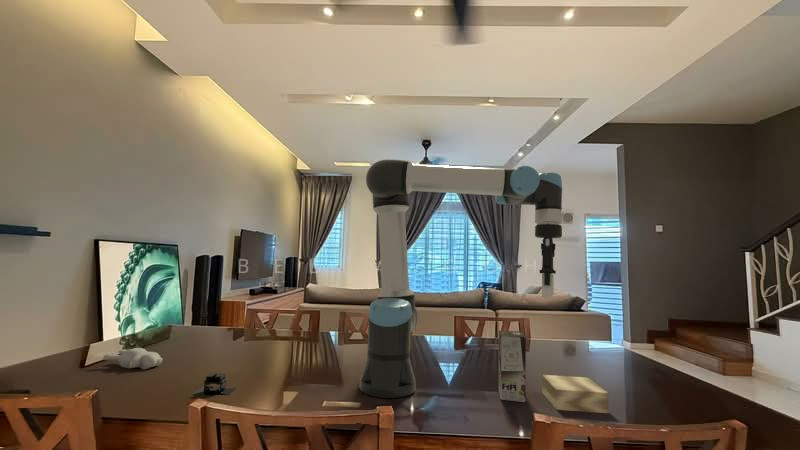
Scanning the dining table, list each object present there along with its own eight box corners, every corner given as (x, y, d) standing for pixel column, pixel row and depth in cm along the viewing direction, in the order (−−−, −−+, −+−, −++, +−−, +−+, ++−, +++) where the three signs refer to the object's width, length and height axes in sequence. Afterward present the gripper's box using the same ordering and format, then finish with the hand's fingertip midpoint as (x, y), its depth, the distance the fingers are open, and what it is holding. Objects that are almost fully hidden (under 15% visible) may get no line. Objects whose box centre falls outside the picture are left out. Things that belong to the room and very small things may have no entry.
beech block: (556, 411, 88) (556, 389, 89) (542, 393, 100) (542, 374, 101) (608, 414, 87) (608, 393, 88) (588, 396, 99) (587, 377, 100)
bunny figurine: (146, 358, 106) (100, 349, 108) (143, 376, 106) (96, 366, 107) (170, 350, 115) (127, 342, 117) (166, 367, 115) (123, 358, 117)
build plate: (181, 398, 89) (183, 378, 89) (196, 388, 96) (197, 370, 97) (234, 398, 90) (235, 379, 90) (244, 388, 97) (246, 370, 97)
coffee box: (526, 403, 92) (526, 337, 94) (500, 400, 93) (500, 335, 95) (522, 390, 101) (522, 330, 103) (497, 388, 102) (498, 329, 104)
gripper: (561, 219, 98) (561, 300, 96) (562, 228, 120) (561, 294, 118) (532, 219, 101) (531, 297, 99) (537, 228, 123) (537, 292, 121)
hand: (548, 296), depth 108 cm, fingers open, 13 cm apart
